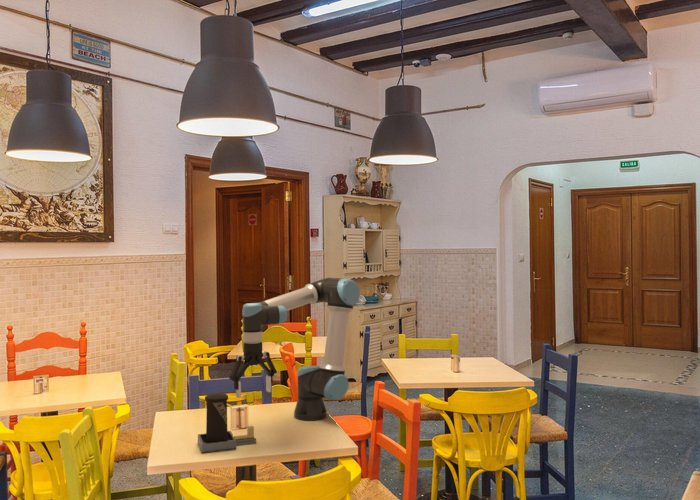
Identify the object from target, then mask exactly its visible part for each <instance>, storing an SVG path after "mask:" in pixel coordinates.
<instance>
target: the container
mask: <svg viewBox="0 0 700 500" xmlns="http://www.w3.org/2000/svg"><path fill="white" fill-rule="evenodd" d="M228 399H229V395H228V394H227V393H223V392H213V393H208V394H206V396H204V400H205V401H206V426H205V427H206V432H205V434H206V443H211V442H220V441H228V432H227V431H228Z"/></svg>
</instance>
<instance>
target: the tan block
mask: <svg viewBox="0 0 700 500" xmlns="http://www.w3.org/2000/svg"><path fill="white" fill-rule="evenodd" d="M233 437H235V439H236V440H243V439H252V438H255V426H254V425H247V426H246V434H240V435H234V436H233Z"/></svg>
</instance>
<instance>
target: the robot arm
mask: <svg viewBox="0 0 700 500" xmlns="http://www.w3.org/2000/svg"><path fill="white" fill-rule="evenodd" d="M360 297H361V291H360V288H359V286H358V284H357V282H356V281H355V280H353V279H350V278H346V277H344V278H341V277H339V278H338V277H326V278H322V279H319V280H316V281H313V282H310V283H307V284H305V286H304V287H301V288H299V289H295V290H292V291H290V292H287V293H284V294H280V295H278V296H275V297H272V298H269V299H266V300H263V301H260V302H251V303H250V302H249V303H245V304H243V305H242V311H241V315H242V329H243V332H242V334H243V337H242V338H243V339H242V341H243V346H242V347H243V355H236V356H235V357H236V358H235V363H234V365H233V368H232V370H231V373H230V376H229V377H228V379H229V380H230V381H232V382H233V389H234V390H235V397H236V398H238V399H242V385H241V384H242V383H241V381H240V379H241V378H242V377H243V375H244V374H245V372H246V371H247V369H248V368H249V367H250V366H251V367H253V366H258V365H259V366H260V367H261V368H262V370H263V371H264V372H265V374H266V375H265V386H266V387H265V392H267V393H272V384H273V379H274V378H273V377H274V376H275V375H276V374H277V373H278V372H277V369H276V367H275V364H274V363H273V361H272V359H271V356H270V352H269V351H264V352H263V327H265V326H273V325H274V326H275V325H281V324H284V323H286V322H287V320H288V311H291V310H294V309H296V308H299V307H303V306H306V305H308V304H310V305H315V304H317V303H327V308H328V309H329V317H328V323H327V324H328V325H327V331H326V333H327V334H326V341H325V347H324V355H323V362H322V364H321V365H309V366H307V365H306V366H303V367H299V368H298V370H297V400H296V401H297V402H296V405H295V408H294V412H293V415H294V417H293V418H295V419H297V420H301V421H318V420H323V419H325V418H327V417H328V412H327V407H326V404H325V401H324V399H326V400H327V401H328V400H329V401H339V400H341V399H342V398H343V397H344V396H345V395H346V394H347V392H348V390H349V383H350V382H349V380H348V377H347V376H346V374H345V372H346V369H345V368H344V367H343V363H344V354H345V347H346V340H347V339H346V338H347V330H348V324H349V323H348V322H349V314H350V312H352V311H353V309H354V305H356V304H358V303H357V302H359V300H360ZM263 358H264V359H265V361H264V360H262V359H263ZM265 362H266V364H267V365H266V364H265ZM241 364H242V365H241Z"/></svg>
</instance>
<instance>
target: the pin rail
mask: <svg viewBox="0 0 700 500" xmlns="http://www.w3.org/2000/svg"><path fill="white" fill-rule="evenodd" d="M254 444H257V438H256V437H254V438H252V439H243V440H236V447H238V446H245V445H254Z"/></svg>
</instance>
